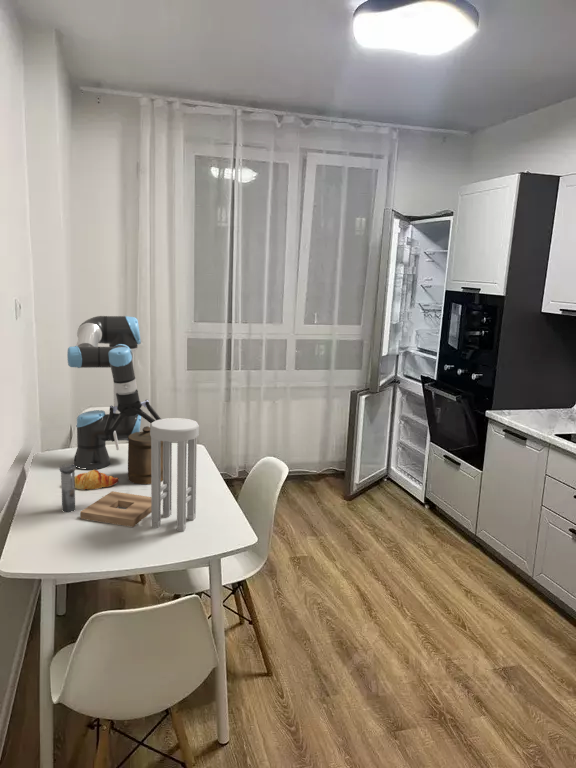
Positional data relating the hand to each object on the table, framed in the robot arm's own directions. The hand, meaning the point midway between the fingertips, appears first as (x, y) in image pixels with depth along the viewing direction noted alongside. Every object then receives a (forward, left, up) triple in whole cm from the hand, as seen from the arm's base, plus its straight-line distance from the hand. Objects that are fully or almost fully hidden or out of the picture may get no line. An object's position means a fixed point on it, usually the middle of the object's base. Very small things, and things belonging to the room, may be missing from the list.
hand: (136, 445), depth 209 cm
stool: (+13, +21, -22) cm, 33 cm away
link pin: (+16, -18, -21) cm, 32 cm away
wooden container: (-22, -8, -22) cm, 32 cm away
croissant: (-7, -24, -22) cm, 33 cm away
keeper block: (+11, 0, -21) cm, 24 cm away
